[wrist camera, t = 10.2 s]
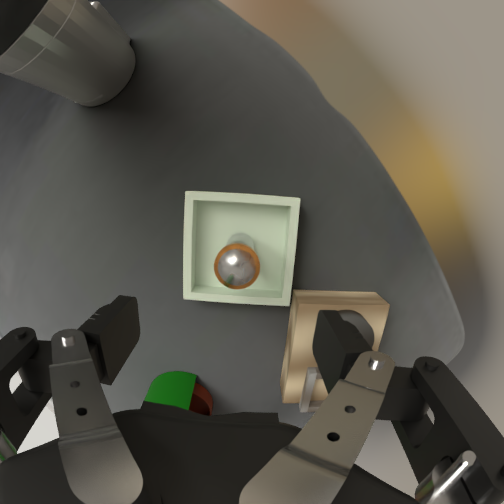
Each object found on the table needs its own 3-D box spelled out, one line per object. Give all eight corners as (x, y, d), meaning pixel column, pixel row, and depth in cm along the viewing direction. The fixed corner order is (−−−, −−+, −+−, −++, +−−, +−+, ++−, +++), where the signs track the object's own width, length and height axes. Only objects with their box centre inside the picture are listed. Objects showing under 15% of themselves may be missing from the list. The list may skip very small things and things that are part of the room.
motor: (221, 421, 35) (210, 541, 15) (165, 423, 35) (133, 531, 15) (200, 368, 32) (167, 507, 13) (139, 373, 33) (79, 489, 13)
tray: (191, 190, 28) (185, 191, 25) (295, 197, 28) (300, 198, 25) (189, 289, 30) (183, 299, 27) (285, 295, 30) (289, 306, 28)
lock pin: (224, 228, 28) (214, 243, 20) (258, 230, 28) (261, 246, 20) (222, 261, 29) (213, 287, 21) (255, 263, 29) (258, 290, 21)
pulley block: (292, 289, 30) (304, 316, 24) (375, 292, 30) (401, 315, 24) (279, 385, 33) (284, 422, 26) (351, 383, 33) (367, 415, 27)
